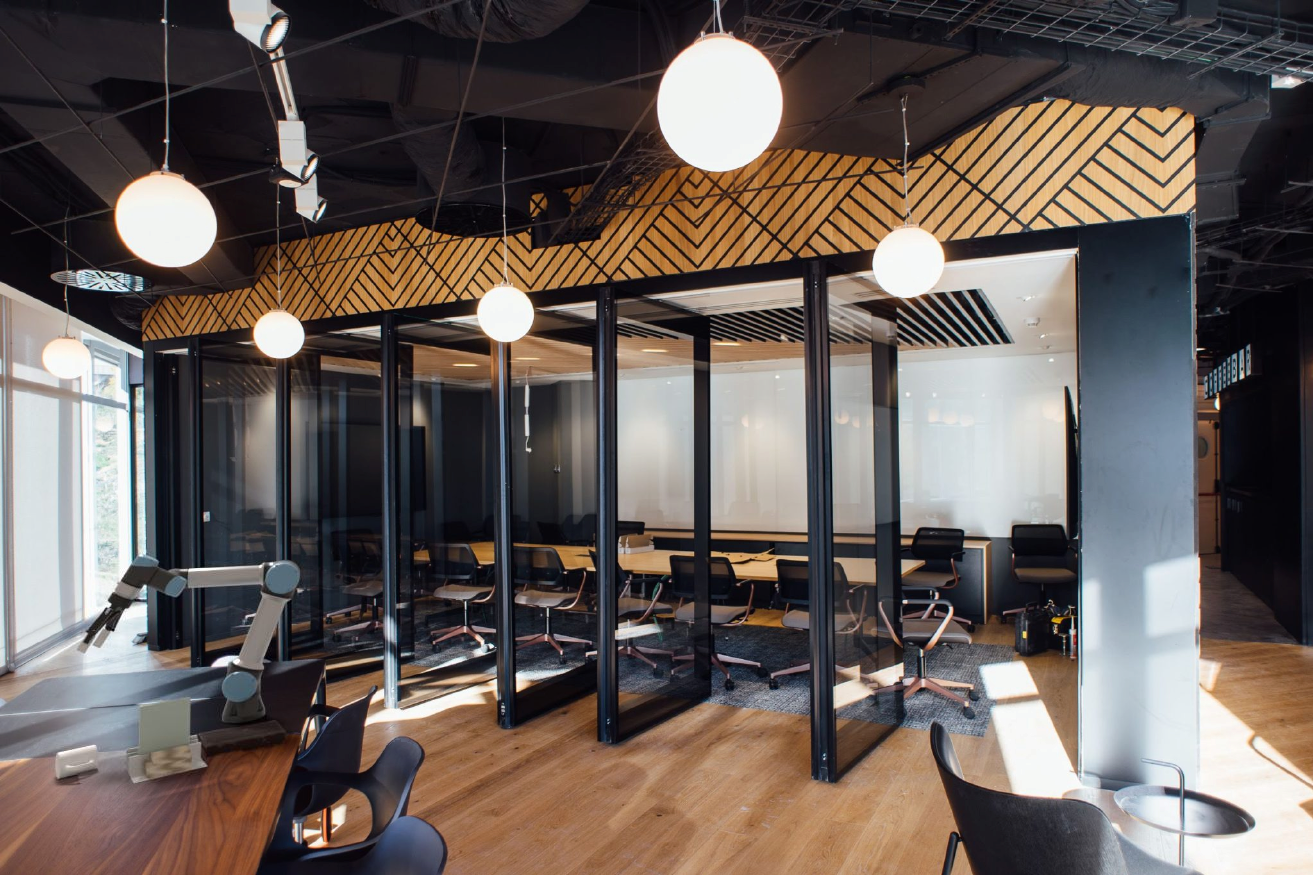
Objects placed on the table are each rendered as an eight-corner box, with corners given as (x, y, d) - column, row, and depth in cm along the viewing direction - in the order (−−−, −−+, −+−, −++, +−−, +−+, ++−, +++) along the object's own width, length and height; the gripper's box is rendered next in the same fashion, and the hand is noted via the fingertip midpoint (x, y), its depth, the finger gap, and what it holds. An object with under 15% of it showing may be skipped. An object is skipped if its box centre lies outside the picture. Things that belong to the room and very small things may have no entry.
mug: (54, 775, 244) (55, 750, 244) (92, 766, 251) (93, 742, 252) (61, 785, 236) (62, 758, 236) (100, 775, 243) (101, 750, 243)
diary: (286, 744, 271) (286, 730, 271) (205, 761, 255) (205, 746, 255) (274, 731, 285) (274, 717, 285) (197, 746, 270) (198, 732, 270)
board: (188, 757, 255) (189, 696, 256) (189, 758, 253) (190, 698, 254) (138, 767, 246) (139, 705, 247) (139, 769, 244) (140, 706, 245)
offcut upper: (187, 754, 249) (187, 744, 249) (190, 758, 245) (190, 748, 245) (151, 762, 242) (151, 752, 243) (153, 766, 239) (153, 756, 239)
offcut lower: (188, 762, 249) (188, 753, 250) (191, 766, 246) (191, 757, 246) (145, 772, 241) (145, 763, 242) (147, 776, 238) (147, 767, 238)
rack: (196, 755, 259) (196, 734, 260) (207, 769, 246) (207, 747, 246) (125, 770, 246) (126, 748, 247) (133, 786, 233) (133, 763, 233)
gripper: (126, 588, 289) (92, 640, 284) (100, 592, 266) (62, 649, 260) (145, 597, 291) (112, 648, 285) (121, 602, 267) (84, 658, 262)
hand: (88, 649), depth 273 cm, fingers open, 13 cm apart
